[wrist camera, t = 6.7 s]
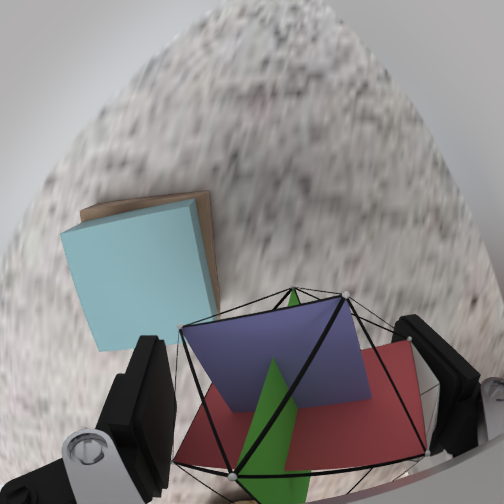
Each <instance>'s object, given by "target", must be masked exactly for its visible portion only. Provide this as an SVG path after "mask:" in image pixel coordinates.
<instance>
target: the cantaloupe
mask: <svg viewBox="0 0 504 504" xmlns="http://www.w3.org/2000/svg"><path fill="white" fill-rule="evenodd" d="M234 503H235V504H258V503H257V502H256V501H255V500H250V501H237V502H234ZM231 504H233V503H231Z"/></svg>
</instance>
